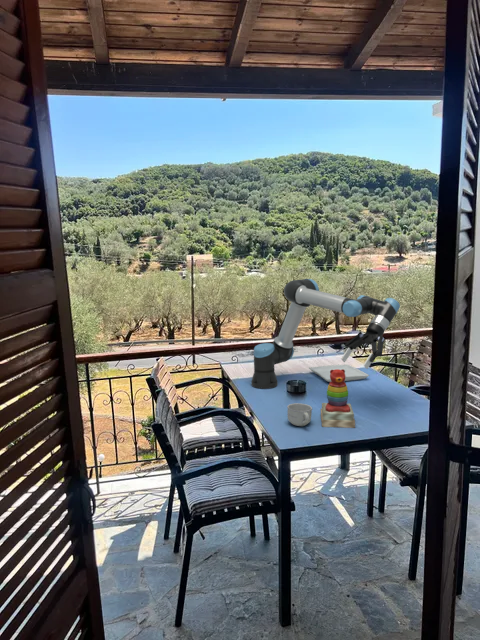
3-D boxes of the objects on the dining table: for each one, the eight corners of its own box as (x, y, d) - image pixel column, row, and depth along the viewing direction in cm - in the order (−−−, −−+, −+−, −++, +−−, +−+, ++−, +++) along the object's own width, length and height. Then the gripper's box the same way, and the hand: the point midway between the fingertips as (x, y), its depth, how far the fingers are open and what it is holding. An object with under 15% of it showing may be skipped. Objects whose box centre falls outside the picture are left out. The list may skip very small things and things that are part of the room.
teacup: (285, 419, 195) (285, 402, 194) (308, 418, 196) (308, 401, 195) (291, 432, 182) (291, 414, 180) (316, 430, 183) (316, 413, 181)
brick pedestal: (322, 426, 186) (322, 413, 185) (320, 414, 200) (320, 402, 199) (354, 427, 184) (355, 414, 183) (351, 415, 198) (351, 403, 197)
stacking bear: (325, 412, 187) (326, 372, 184) (324, 403, 197) (324, 366, 194) (351, 412, 186) (351, 373, 183) (348, 404, 196) (349, 366, 193)
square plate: (369, 381, 250) (370, 374, 249) (326, 385, 244) (326, 379, 243) (347, 369, 276) (347, 363, 275) (308, 372, 270) (308, 366, 269)
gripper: (403, 336, 190) (379, 374, 184) (360, 328, 211) (338, 362, 205) (396, 325, 186) (371, 364, 181) (353, 318, 207) (330, 353, 202)
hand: (353, 363), depth 193 cm, fingers open, 13 cm apart
